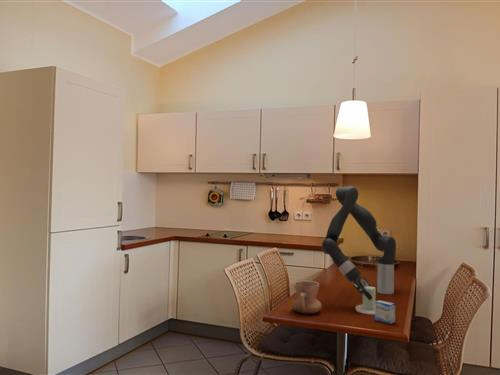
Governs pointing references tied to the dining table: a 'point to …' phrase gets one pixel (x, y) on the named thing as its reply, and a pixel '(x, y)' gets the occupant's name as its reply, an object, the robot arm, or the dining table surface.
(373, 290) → the sage block
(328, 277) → the dining table surface
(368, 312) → the dish
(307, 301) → the ceramic jug
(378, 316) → the medicine box
